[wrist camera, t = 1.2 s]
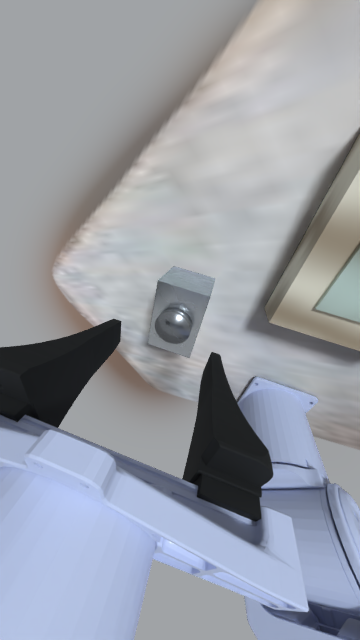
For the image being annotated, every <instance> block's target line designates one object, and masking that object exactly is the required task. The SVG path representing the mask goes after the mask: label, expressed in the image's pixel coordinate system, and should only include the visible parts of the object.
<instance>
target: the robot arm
mask: <svg viewBox="0 0 360 640" xmlns="http://www.w3.org/2000/svg"><path fill="white" fill-rule="evenodd" d="M120 335H121V321H119V320H116V319H112V320H110V321H107V322H105V323H102V324H100V325H98V326H95V327H93V328H90V329H88V330H85V331H82V332H79V333H77V334H74V335H71V336H68V337H63V338H60V339H56V340H51V341H46V342H42V343H36V344H29V345H22V346H13V347H1V348H0V640H134V637H135V633H136V628H137V624H138V620H139V616H140V611H141V607H142V602H143V598H144V594H145V589H146V585H147V581H148V577H149V573H150V568H151V564H152V560H153V559H154V560H157V561H159V562H161V563H164V564H166V565H169V566H172V567H174V568H176V569H179V570H181V571H184V572H187V573H189V574H192V575H194V576H196V577H199V578H202V579H204V580H207V581H209V582H212V583H214V584H217V585H219V586H221V587H224V588H226V589H229V590H231V591H234V592H236V593H238V594H241V595H243V596H244V599H245V605H246V613H247V620H248V623H249V625H250V627H251V629H252V631H253V632H254V634H255V636H256V637H257V639H258V640H360V509H359V507H358V506H357V504H356V502H355V501H354V499H353V498H352V497H351V496H350V494H348V493H347V492H346V491H344V490H343V489H342V488H341V487H340V486H339V485H337V484H335V483H334V484H331V483H330V482H329V479H328V476H327V474H326V471H325V468H324V465H323V462H322V460H321V457H320V454H319V451H318V448H317V446H316V443H315V440H314V437H313V434H312V432H311V429H310V426H309V423H308V420H307V418H306V415H305V413H306V412H308V411H309V410H310V409H311V408H312V407H313V406H314V405H315V404H316V403H317V402H318V399H317V397H315V396H312V395H309V394H306V393H303V392H300V391H297V390H295V389H292V388H289V387H286V386H283V385H280V384H277V383H274V382H271V381H268V380H265V379H263V378H260V377H255V378H254V379H253V380H252V382H251V383H250V385H249V386H248V388H247V389H246V391H245V392H244V394H243V395H242V397H241V398H240V399H239V401H238V402H236V400H235V398H234V396H233V393H232V391H231V389H230V386H229V384H228V381H227V378H226V375H225V372H224V368H223V365H222V361H221V356H220V355H219V354H216V353H213V352H211V355H210V357H209V359H208V362H207V364H206V366H205V369H204V371H203V375H202V380H201V385H200V393H199V402H198V411H197V417H196V422H195V427H194V432H193V436H192V441H191V445H190V449H189V454H188V458H187V463H186V466H185V471H184V475H183V479H180V478H178V477H175V476H173V475H170V474H168V473H165V472H163V471H161V470H158V469H156V468H153V467H151V466H148V465H146V464H143V463H141V462H139V461H136V460H134V459H131V458H129V457H127V456H124V455H122V454H119V453H117V452H115V451H112V450H110V449H107V448H105V447H102V446H100V445H98V444H95V443H93V442H90V441H88V440H85V439H83V438H80V437H78V436H76V435H73V434H71V433H68V432H66V431H64V430H61V429H59V428H58V427H59V425H60V424H61V422H62V420H63V419H64V417H65V415H66V414H67V412H68V410H69V409H70V407H71V406H72V404H73V402H74V401H75V400H76V398H77V397H78V395H79V394H80V392H81V391H82V389H83V388H84V386H85V385H86V384H87V382H88V381H89V379H90V378H91V377H92V376H93V374H94V373H95V372H96V371H97V370H98V369H99V368H100V366H101V365H102V364H103V363H104V362H105V360H107V359H108V357H109V356H110V355H111V354H112V353H113V351H114V350H115V349H116V347H117V346H118V344H119V342H120Z"/></svg>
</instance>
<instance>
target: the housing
mask: <svg viewBox="0 0 360 640" xmlns="http://www.w3.org/2000/svg"><path fill="white" fill-rule="evenodd" d="M214 282H215V278H213V277H209V276H206V275H203V274H199V273H196V272H192V271H189V270H186V269H182V268H179V267H176V266H173V267H172V268H171V269H170V270H169V271H168V272H167V273H166V274H165V275H163V276H162V277H161V278H160V279H159V280H158V283H157V289H156V295H155V302H154V308H153V314H152V321H151V327H150V333H149V340H148V344H150V345H153V346H156V347H159V348H162V349H164V350H167V351H170V352H173V353H176V354H179V355H182V356H185V357H187V358H190V355H191V352H192V349H193V346H194V343H195V340H196V337H197V334H198V331H199V329H200V326H201V323H202V320H203V317H204V314H205V311H206V308H207V305H208V302H209V299H210V296H211V293H212V289H213V285H214Z"/></svg>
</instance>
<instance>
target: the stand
mask: <svg viewBox="0 0 360 640" xmlns="http://www.w3.org/2000/svg"><path fill="white" fill-rule="evenodd" d="M264 309H265V312H266V315H267V318H268V321H269V323H272V324H275V325H278V326H281V327H284V328H288V329H291V330H294V331H297V332H300V333H303V334H307V335H310V336H313V337H316V338H319V339H323V340H326V341H329V342H332V343H335V344H339V345H342V346H345V347H348V348H351V349H354V350H358V351H360V133H359V135H358V137H357V139H356V141H355V143H354V144H353V146H352V148H351V150H350V152H349V154H348V155H347V157H346V159H345V161H344V163H343V165H342V166H341V168H340V170H339V172H338V174H337V176H336V177H335V179H334V181H333V183H332V185H331V187H330V188H329V190H328V192H327V194H326V196H325V198H324V199H323V201H322V203H321V205H320V207H319V209H318V210H317V212H316V214H315V216H314V218H313V220H312V222H311V223H310V225H309V227H308V229H307V231H306V233H305V234H304V236H303V238H302V240H301V242H300V244H299V245H298V247H297V249H296V251H295V253H294V255H293V256H292V258H291V260H290V262H289V264H288V266H287V267H286V269H285V271H284V273H283V275H282V277H281V278H280V280H279V282H278V284H277V286H276V288H275V289H274V291H273V293H272V295H271V297H270V299H269V300H268V302H267V304H266V306H265V308H264Z"/></svg>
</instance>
